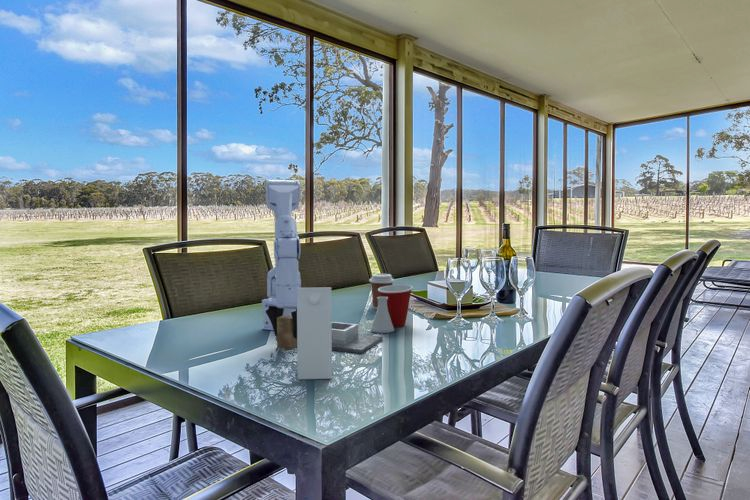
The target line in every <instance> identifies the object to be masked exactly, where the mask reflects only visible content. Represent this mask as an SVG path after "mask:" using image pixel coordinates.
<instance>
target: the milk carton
mask: <svg viewBox="0 0 750 500" xmlns="http://www.w3.org/2000/svg"><path fill="white" fill-rule="evenodd" d="M332 315H333V314H332V287H331V286H330V287H327V286H326V287H325V286H324V287H301V288H298V300H297V347H296V348H297V354H296V355H297V361H296V363H297V380H328V379H329V380H331V379H333V378H332V377H333V376H332V375H333V372H332V369H333V366H332V365H333V363H332V361H333V358H332V355H333V354H332V353H333V350H332V322H333V321H332V319H333V318H332Z"/></svg>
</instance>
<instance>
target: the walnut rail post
mask: <svg viewBox="0 0 750 500" xmlns="http://www.w3.org/2000/svg"><path fill="white" fill-rule="evenodd" d="M276 348H277V350H286V351H288V350H289V351H293V350H294V349H296V348H297V339H296V338H294V324H293V318H292V315H283V316H280V317H277V336H276Z"/></svg>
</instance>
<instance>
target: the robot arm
mask: <svg viewBox="0 0 750 500" xmlns="http://www.w3.org/2000/svg"><path fill="white" fill-rule="evenodd" d="M265 199H266V201H265V202H266V206H267V209H268V210H270V211H272V212H273V214H274V218H275V221H274V240H273V257H274V264H275V265H274V267H273V268H271V269H270V270H269V271H268V273H267V279H266V281H267V282H266V283H267V284H266V286H267V287H266V289H267V291H266V292H267V293H266V294H267V297H268V298H264V299H262V300H261V308H262V315H263V316H262V321H263V324H262V327H261V330H266V331H267V330H268V331H273V333H274V336H275V337H277V317H280V316H283V315H292V318H293V324H294V338H296V339H297V300H298V288H302V280H301V273H300V271H299V260H300V259H301V258H300V257H301V242H300V238H299V234H298V230H297V229H298V228H297V221H296V219H295V218H294V217H292V212H293V211H296V210H297V209H299V206H300V202H301V201H300V200H301V181H299V179H296V180H287V179H267V180H265ZM297 258H298V259H297Z"/></svg>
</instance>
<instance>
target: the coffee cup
mask: <svg viewBox="0 0 750 500" xmlns="http://www.w3.org/2000/svg"><path fill="white" fill-rule="evenodd" d="M368 281H369V283H370V285H371V286H370V287H371V297H372V299H371V300H372V308H373V309H374V310H377V308H378V299H377V297H381V295H380V293H379V291H378V288H380V287H384V286H389V285H394V284H393V283H395V279H394V278H393V275H392V274H390V273H374V274H372V275H371V277H370V278H369V279H368Z"/></svg>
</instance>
